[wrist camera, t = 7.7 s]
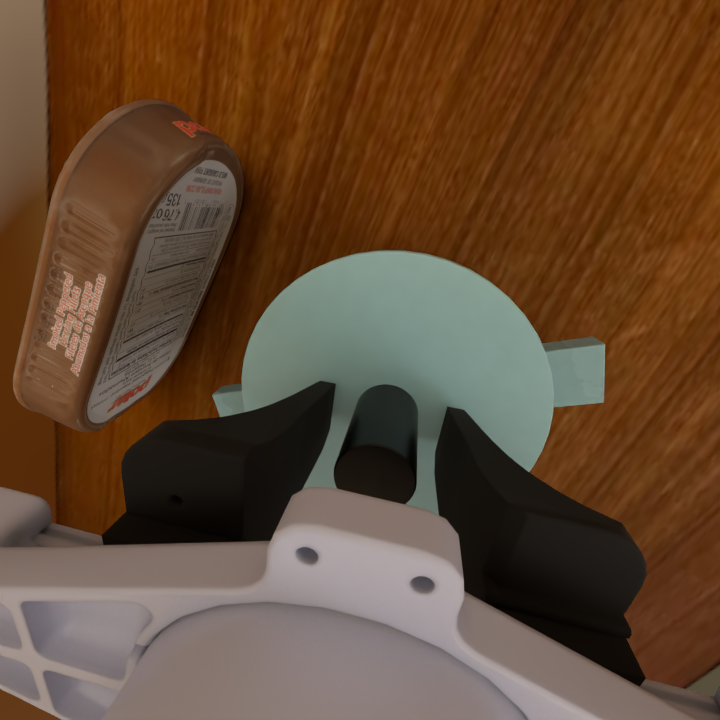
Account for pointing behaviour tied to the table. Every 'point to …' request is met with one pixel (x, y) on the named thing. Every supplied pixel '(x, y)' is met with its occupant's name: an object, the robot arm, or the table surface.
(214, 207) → the tin
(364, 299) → the lid
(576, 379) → the pot
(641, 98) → the table surface
